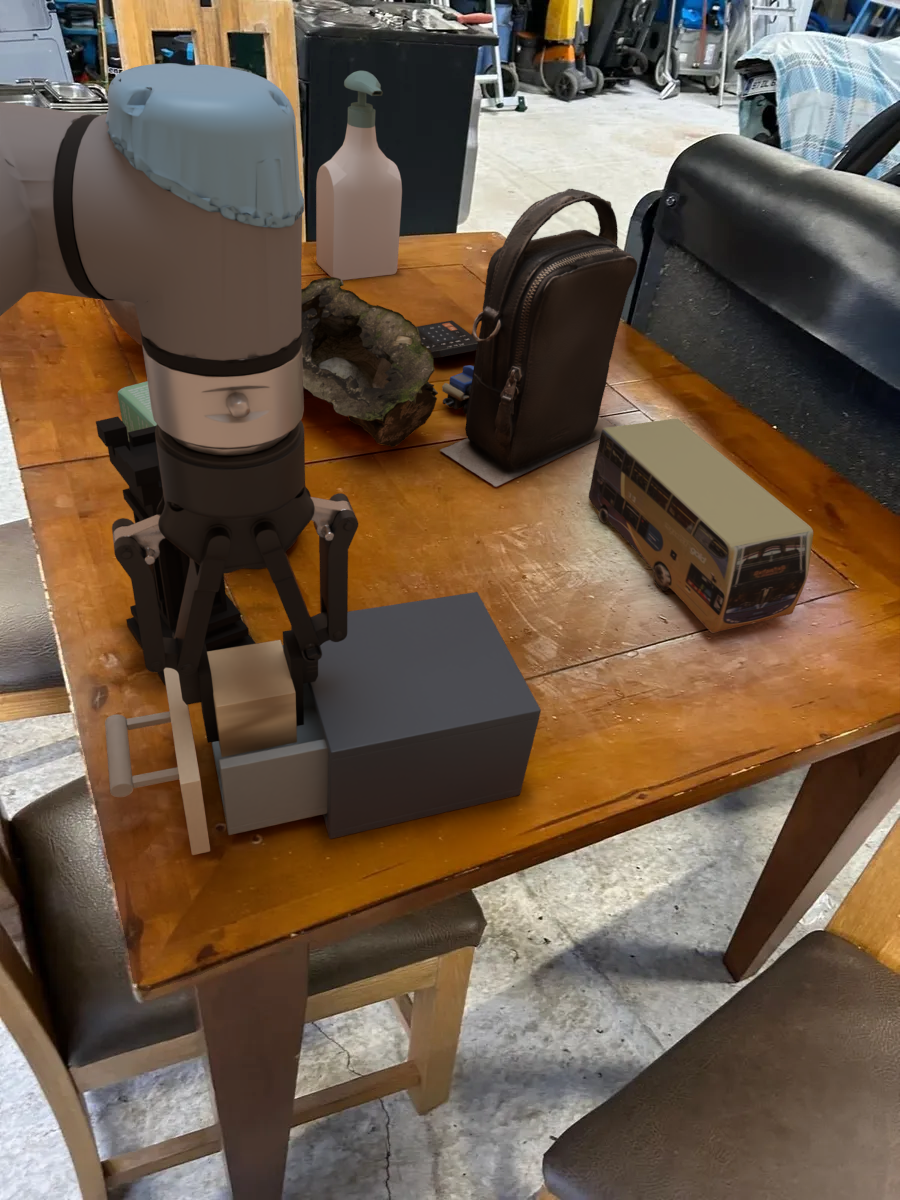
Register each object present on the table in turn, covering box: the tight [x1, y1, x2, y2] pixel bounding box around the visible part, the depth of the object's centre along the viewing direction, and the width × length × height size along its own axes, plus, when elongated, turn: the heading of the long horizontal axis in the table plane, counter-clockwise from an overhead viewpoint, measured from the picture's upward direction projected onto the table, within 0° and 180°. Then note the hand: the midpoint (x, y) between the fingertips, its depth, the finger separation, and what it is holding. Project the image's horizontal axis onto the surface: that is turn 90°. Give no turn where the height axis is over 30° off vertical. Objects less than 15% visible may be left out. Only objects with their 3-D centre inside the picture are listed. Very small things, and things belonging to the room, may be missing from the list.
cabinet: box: [290, 591, 542, 840], centre depth 65 cm, size 15×13×10 cm
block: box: [207, 639, 297, 757], centre depth 59 cm, size 5×5×5 cm
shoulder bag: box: [439, 188, 638, 488], centre depth 96 cm, size 23×9×28 cm, turn 134°
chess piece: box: [95, 416, 257, 686], centre depth 69 cm, size 8×8×20 cm
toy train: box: [441, 364, 474, 415], centre depth 113 cm, size 4×22×5 cm, turn 136°
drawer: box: [104, 644, 328, 856], centre depth 62 cm, size 18×11×8 cm, turn 109°
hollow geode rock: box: [301, 276, 439, 448], centre depth 103 cm, size 28×13×15 cm
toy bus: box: [588, 418, 814, 634], centre depth 87 cm, size 10×23×10 cm, turn 22°
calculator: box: [416, 319, 478, 359], centre depth 121 cm, size 9×12×3 cm
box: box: [117, 381, 157, 439], centre depth 92 cm, size 7×14×8 cm, turn 40°
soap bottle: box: [315, 70, 403, 281], centre depth 130 cm, size 11×8×27 cm
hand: (253, 718), depth 61 cm, fingers closed on block, 5 cm apart
